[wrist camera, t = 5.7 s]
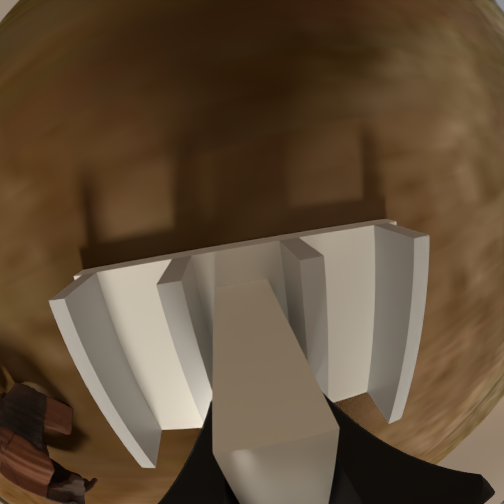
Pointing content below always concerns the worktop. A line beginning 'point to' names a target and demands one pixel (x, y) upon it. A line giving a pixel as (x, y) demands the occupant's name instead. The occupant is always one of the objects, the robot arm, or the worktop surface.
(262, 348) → the beige rectangular block
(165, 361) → the dish rack
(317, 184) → the worktop surface
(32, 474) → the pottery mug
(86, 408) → the worktop surface
